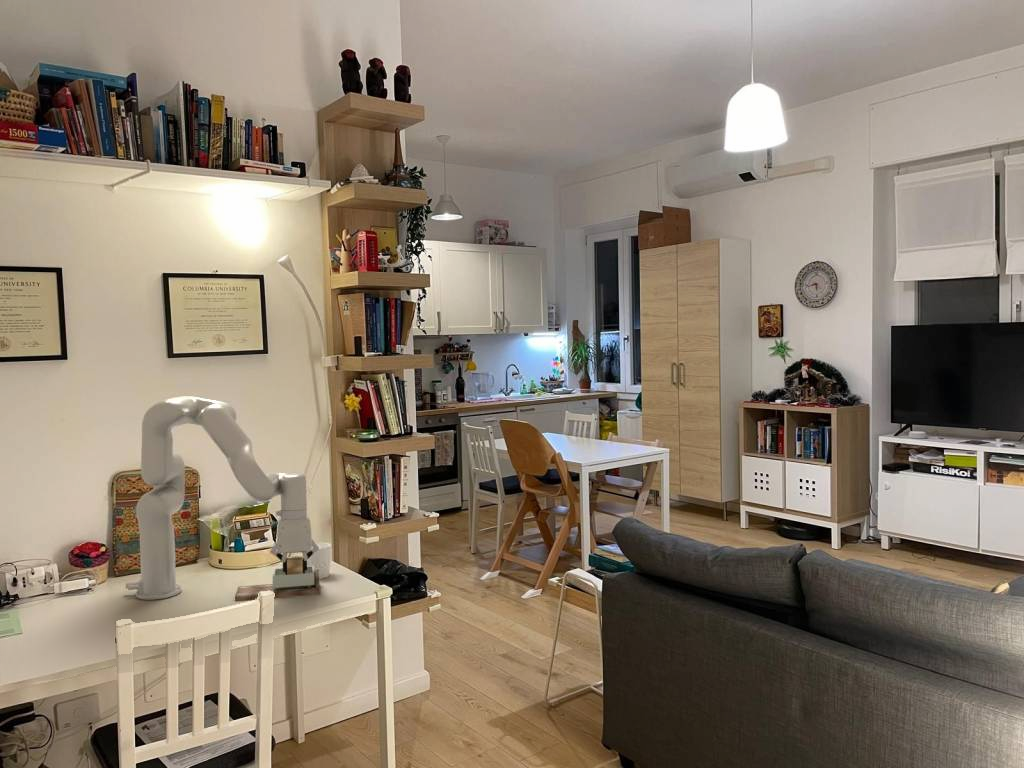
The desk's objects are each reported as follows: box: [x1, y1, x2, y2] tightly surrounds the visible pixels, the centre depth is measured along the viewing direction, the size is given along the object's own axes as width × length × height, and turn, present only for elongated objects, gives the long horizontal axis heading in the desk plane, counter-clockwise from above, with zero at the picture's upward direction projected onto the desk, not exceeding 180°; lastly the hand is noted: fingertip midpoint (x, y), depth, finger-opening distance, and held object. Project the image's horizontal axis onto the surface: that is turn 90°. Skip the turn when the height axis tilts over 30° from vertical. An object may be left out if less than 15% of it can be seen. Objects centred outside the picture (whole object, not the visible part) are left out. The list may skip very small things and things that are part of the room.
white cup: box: [307, 542, 332, 580], centre depth 251 cm, size 8×8×10 cm
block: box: [286, 555, 303, 575], centre depth 235 cm, size 4×4×5 cm
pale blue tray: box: [272, 566, 314, 591], centre depth 235 cm, size 12×8×5 cm, turn 104°
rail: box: [234, 569, 320, 602], centre depth 234 cm, size 24×10×5 cm, turn 104°
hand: (295, 572), depth 235 cm, fingers closed on block, 4 cm apart
